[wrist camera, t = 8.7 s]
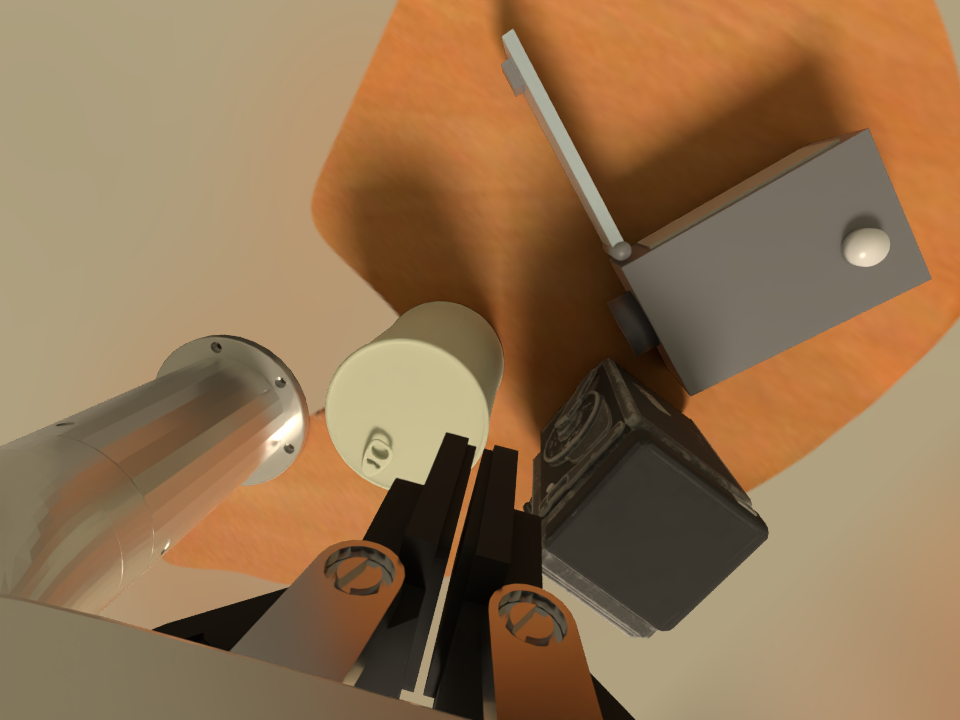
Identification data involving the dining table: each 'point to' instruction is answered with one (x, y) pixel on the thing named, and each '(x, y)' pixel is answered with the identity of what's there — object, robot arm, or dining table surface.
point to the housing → (769, 263)
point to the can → (415, 392)
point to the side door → (561, 144)
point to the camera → (636, 505)
